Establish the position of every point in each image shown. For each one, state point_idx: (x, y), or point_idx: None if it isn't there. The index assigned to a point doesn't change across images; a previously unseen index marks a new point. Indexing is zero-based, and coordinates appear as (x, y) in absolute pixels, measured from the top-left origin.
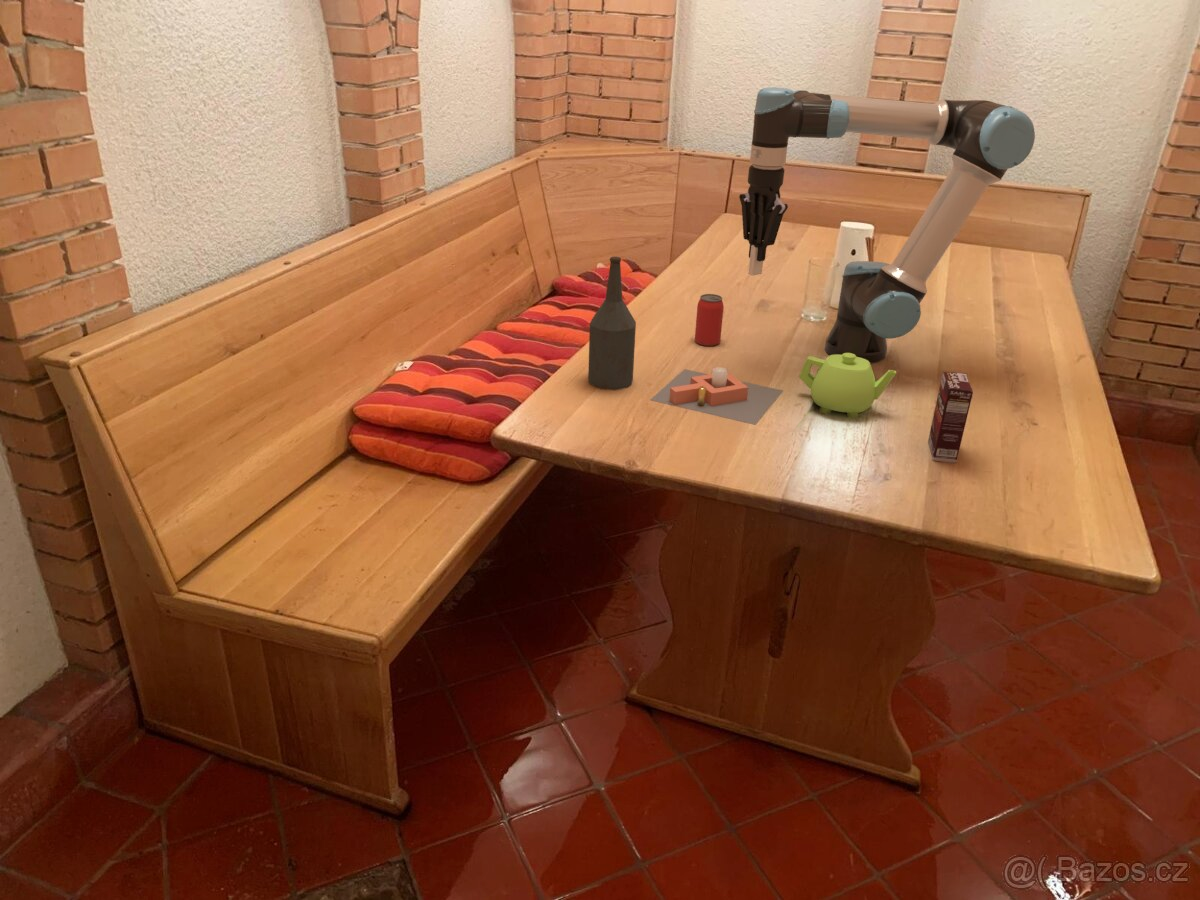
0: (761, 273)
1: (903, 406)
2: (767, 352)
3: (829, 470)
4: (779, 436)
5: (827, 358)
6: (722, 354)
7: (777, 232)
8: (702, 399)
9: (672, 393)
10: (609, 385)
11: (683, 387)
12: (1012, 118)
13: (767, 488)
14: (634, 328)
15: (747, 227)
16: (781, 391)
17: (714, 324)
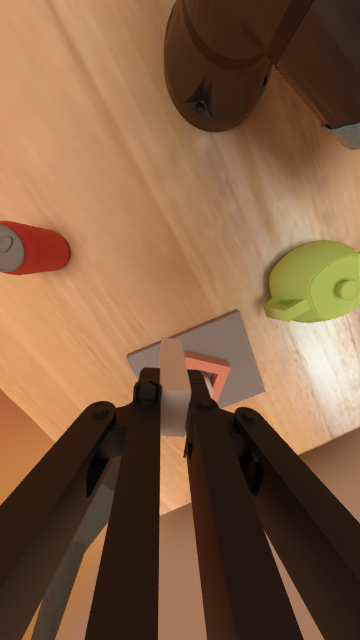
0: (180, 340)
1: (350, 213)
2: (130, 206)
3: (342, 387)
4: (283, 377)
5: (312, 300)
6: (101, 269)
7: (312, 474)
8: None
9: None
10: None
11: None
12: None
13: (318, 437)
14: (112, 486)
15: (85, 510)
16: (239, 315)
17: (52, 258)
